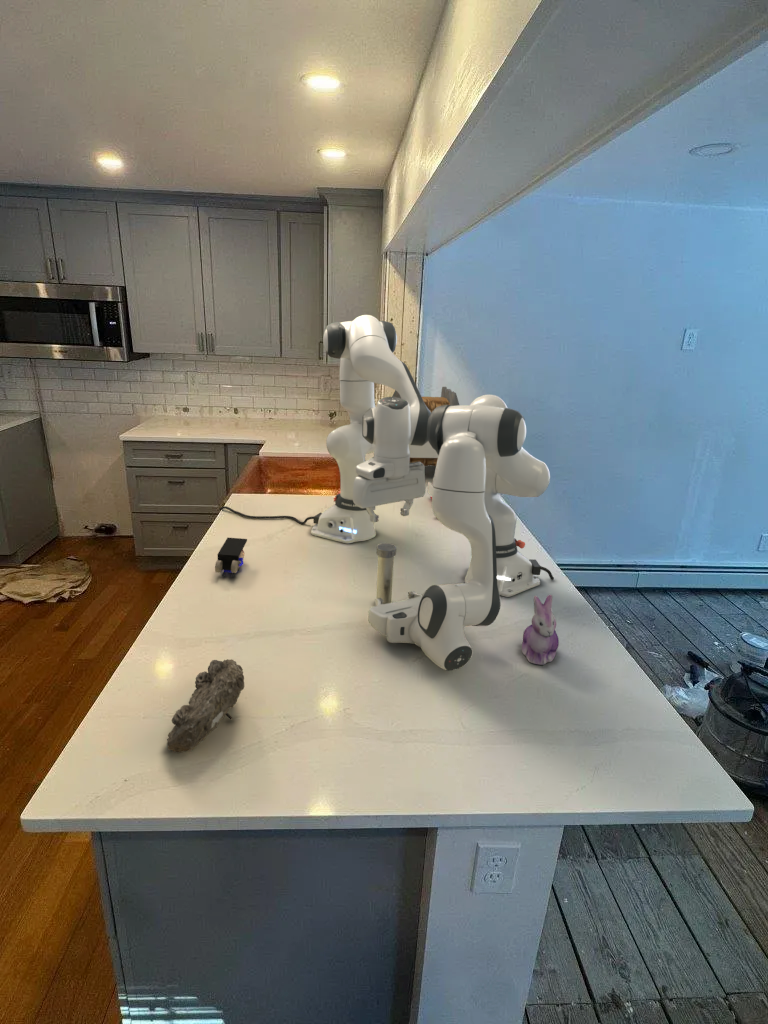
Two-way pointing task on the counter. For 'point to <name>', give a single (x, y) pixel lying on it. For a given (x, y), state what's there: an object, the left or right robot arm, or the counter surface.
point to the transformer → (426, 451)
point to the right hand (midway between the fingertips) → (394, 597)
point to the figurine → (541, 634)
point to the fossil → (206, 705)
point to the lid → (386, 550)
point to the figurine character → (230, 556)
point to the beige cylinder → (385, 579)
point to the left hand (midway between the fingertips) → (389, 518)
